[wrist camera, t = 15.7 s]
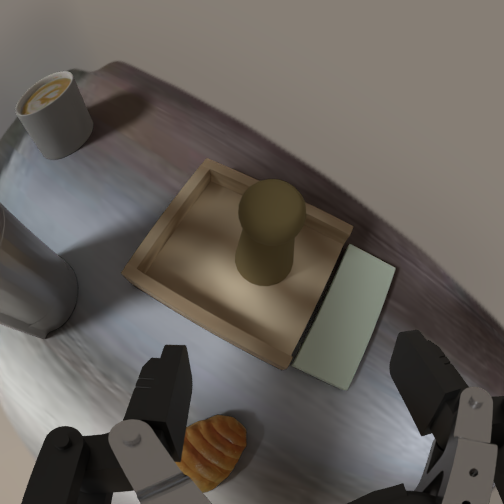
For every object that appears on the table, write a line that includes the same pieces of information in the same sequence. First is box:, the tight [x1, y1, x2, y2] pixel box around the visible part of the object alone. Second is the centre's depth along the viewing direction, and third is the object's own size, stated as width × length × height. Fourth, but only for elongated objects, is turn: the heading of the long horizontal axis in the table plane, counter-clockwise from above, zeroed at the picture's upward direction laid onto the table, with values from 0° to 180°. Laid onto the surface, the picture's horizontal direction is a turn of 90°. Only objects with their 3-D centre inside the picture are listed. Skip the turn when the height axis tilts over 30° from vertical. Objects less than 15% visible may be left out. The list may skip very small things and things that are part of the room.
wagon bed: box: [121, 158, 354, 370], centre depth 32 cm, size 16×18×4 cm
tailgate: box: [291, 244, 396, 391], centre depth 30 cm, size 14×1×6 cm
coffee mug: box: [16, 71, 93, 160], centre depth 37 cm, size 13×10×10 cm
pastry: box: [175, 415, 247, 493], centre depth 24 cm, size 9×7×4 cm
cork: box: [235, 179, 306, 286], centre depth 27 cm, size 6×6×11 cm
